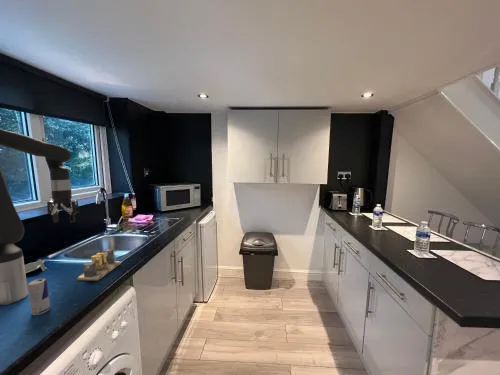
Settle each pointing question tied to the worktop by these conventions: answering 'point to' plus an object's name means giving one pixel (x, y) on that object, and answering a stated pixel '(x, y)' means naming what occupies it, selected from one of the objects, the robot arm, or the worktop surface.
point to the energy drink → (39, 296)
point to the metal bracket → (34, 266)
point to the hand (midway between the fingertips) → (64, 222)
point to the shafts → (95, 261)
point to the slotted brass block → (99, 258)
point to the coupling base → (100, 273)
